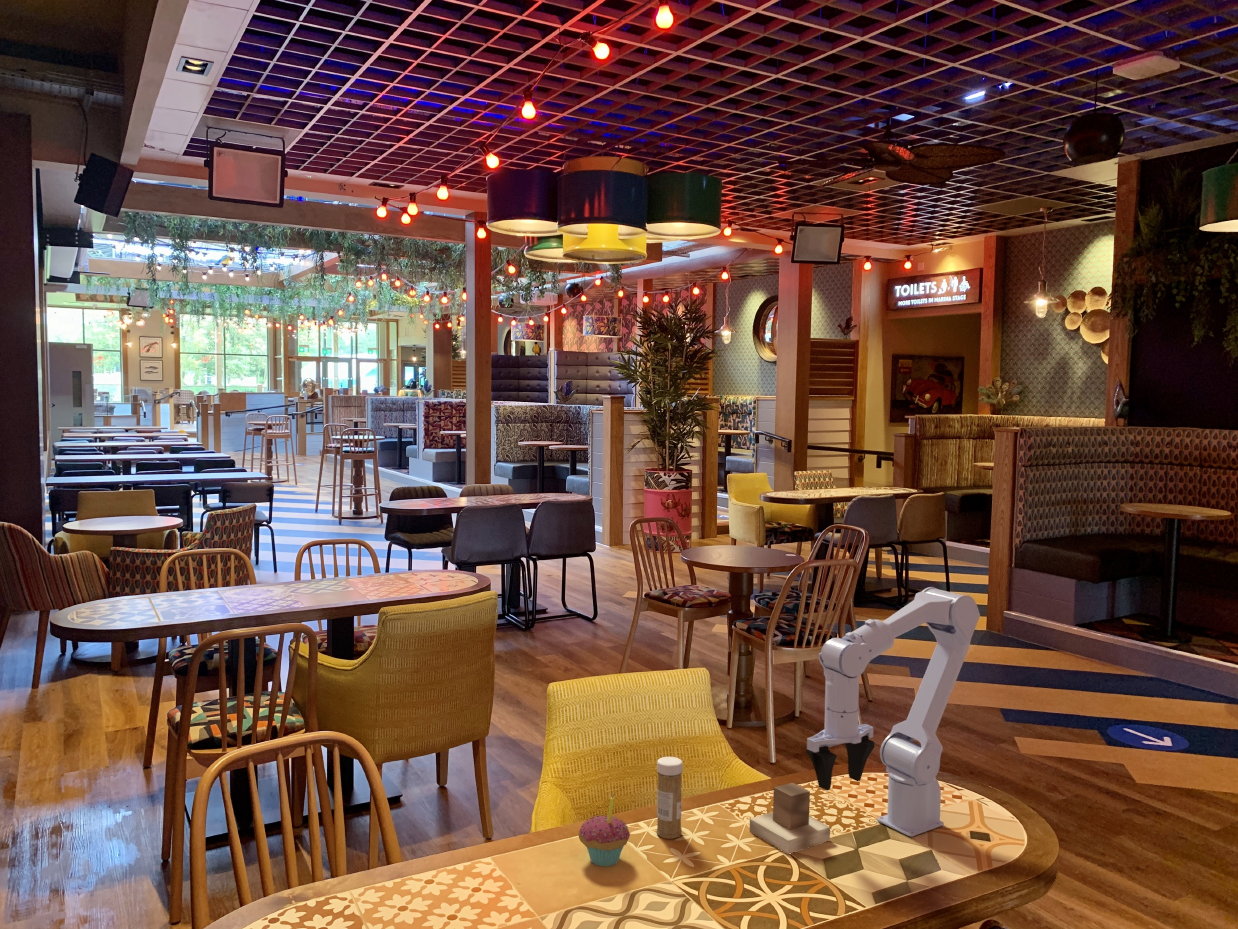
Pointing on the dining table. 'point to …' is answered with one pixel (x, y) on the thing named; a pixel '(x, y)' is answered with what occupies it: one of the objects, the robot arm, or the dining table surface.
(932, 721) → the robot arm
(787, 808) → the walnut block
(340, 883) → the dining table surface
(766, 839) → the birch block
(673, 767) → the sprinkles bottle
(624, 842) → the cupcake
